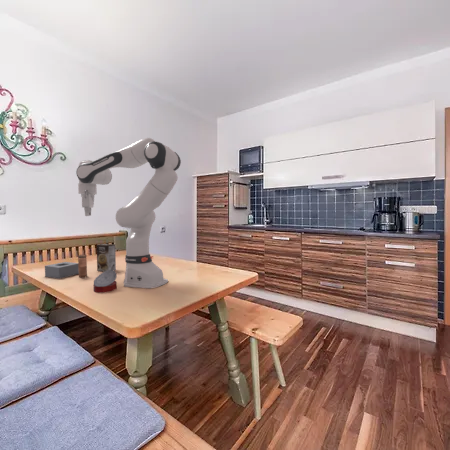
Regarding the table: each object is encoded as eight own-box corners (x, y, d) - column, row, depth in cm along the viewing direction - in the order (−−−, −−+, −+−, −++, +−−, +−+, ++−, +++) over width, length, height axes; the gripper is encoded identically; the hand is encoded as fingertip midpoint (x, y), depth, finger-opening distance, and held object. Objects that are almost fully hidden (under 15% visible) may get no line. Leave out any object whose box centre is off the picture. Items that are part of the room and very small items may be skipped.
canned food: (117, 298, 119) (123, 281, 116) (94, 301, 112) (99, 283, 109) (110, 282, 127) (115, 266, 123) (88, 284, 120) (93, 267, 116)
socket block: (79, 273, 147) (79, 263, 147) (59, 278, 136) (58, 267, 136) (66, 271, 152) (65, 261, 152) (45, 276, 141) (44, 265, 141)
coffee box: (96, 270, 154) (95, 244, 153) (104, 268, 160) (104, 243, 159) (108, 272, 151) (107, 245, 150) (116, 269, 157) (115, 243, 156)
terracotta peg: (88, 276, 142) (88, 254, 141) (82, 277, 138) (81, 256, 137) (83, 275, 143) (83, 254, 143) (77, 277, 140) (76, 255, 139)
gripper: (92, 189, 131) (92, 216, 132) (95, 192, 150) (96, 215, 150) (78, 189, 128) (78, 216, 129) (83, 191, 147) (84, 215, 148)
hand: (88, 215), depth 140 cm, fingers open, 8 cm apart
